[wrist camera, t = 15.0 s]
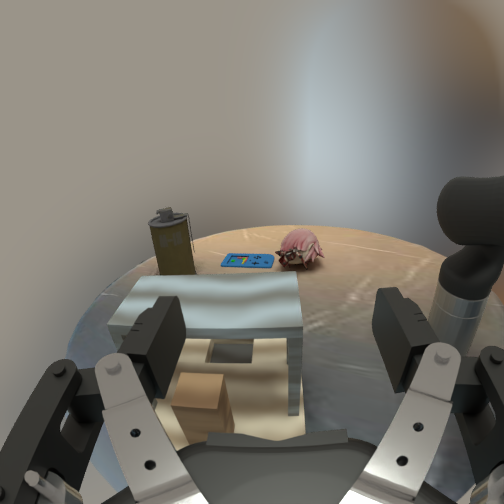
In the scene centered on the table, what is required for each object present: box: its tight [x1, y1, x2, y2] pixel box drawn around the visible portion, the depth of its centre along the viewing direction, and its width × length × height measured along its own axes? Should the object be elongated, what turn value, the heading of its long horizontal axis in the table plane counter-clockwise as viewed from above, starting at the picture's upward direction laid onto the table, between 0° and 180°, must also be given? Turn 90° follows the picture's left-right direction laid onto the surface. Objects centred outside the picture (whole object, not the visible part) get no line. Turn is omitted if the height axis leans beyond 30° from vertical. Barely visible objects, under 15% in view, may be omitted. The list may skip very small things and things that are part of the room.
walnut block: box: [171, 372, 235, 445], centre depth 32 cm, size 5×5×11 cm
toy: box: [275, 228, 324, 270], centre depth 81 cm, size 12×11×15 cm
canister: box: [148, 207, 197, 276], centre depth 79 cm, size 11×10×20 cm
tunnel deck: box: [107, 271, 305, 451], centre depth 41 cm, size 28×24×20 cm
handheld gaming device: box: [221, 253, 274, 268], centre depth 89 cm, size 8×1×15 cm
